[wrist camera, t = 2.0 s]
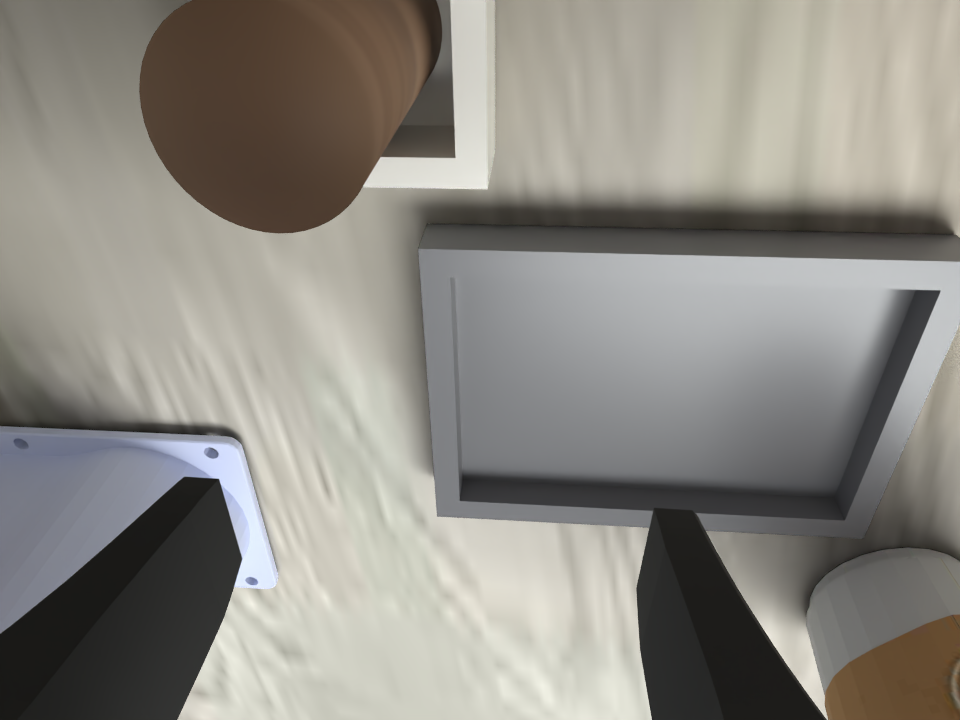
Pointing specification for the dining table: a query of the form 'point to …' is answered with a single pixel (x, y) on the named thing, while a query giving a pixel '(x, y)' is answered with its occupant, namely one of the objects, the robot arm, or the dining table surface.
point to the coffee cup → (889, 636)
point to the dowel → (283, 100)
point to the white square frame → (449, 110)
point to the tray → (679, 371)
